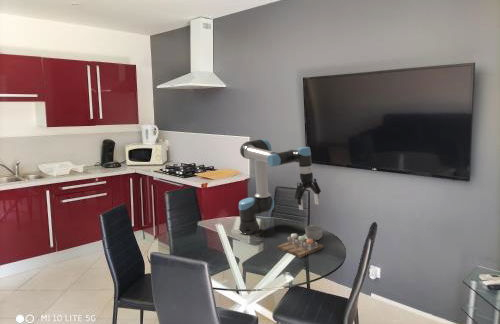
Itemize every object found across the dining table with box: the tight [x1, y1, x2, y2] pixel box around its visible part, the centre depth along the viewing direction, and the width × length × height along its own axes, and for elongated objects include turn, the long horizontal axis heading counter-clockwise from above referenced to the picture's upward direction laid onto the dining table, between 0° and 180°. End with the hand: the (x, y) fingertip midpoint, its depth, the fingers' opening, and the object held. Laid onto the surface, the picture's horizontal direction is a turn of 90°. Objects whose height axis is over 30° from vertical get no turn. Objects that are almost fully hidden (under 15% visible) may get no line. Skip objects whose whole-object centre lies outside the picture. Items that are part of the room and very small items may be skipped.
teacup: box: [304, 224, 323, 242], centre depth 242 cm, size 14×11×8 cm
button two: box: [298, 235, 306, 242], centre depth 229 cm, size 4×4×3 cm
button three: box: [306, 238, 313, 245], centre depth 223 cm, size 4×4×3 cm
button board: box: [277, 235, 324, 258], centre depth 228 cm, size 20×19×5 cm
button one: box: [290, 233, 298, 239], centre depth 234 cm, size 4×4×3 cm
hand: (309, 206), depth 226 cm, fingers open, 13 cm apart
